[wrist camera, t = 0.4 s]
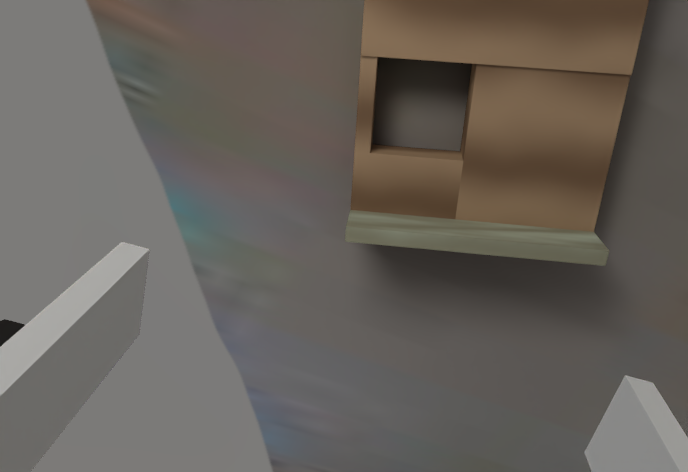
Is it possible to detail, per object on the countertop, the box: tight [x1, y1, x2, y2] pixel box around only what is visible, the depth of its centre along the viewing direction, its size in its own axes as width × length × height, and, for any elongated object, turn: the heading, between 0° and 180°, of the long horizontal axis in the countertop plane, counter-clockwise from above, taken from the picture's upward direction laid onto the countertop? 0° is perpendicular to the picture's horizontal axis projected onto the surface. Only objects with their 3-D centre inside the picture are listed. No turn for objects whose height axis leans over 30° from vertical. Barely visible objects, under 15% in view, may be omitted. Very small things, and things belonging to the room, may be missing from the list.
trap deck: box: [345, 0, 649, 266], centre depth 34 cm, size 26×16×6 cm, turn 177°
